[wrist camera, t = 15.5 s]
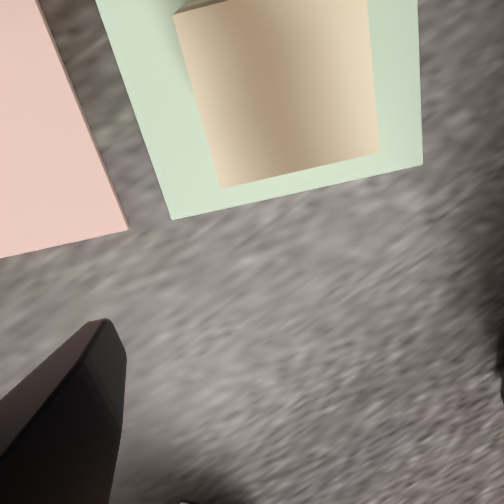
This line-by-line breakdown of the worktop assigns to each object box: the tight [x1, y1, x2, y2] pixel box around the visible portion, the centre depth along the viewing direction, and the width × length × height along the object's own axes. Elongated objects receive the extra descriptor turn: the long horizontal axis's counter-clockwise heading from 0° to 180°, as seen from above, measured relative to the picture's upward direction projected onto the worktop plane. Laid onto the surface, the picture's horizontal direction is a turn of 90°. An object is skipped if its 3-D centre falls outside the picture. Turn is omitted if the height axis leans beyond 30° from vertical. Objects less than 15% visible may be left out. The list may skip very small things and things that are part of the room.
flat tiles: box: [0, 0, 423, 258], centre depth 18 cm, size 24×11×1 cm, turn 103°
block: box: [172, 0, 380, 189], centre depth 16 cm, size 5×5×5 cm
